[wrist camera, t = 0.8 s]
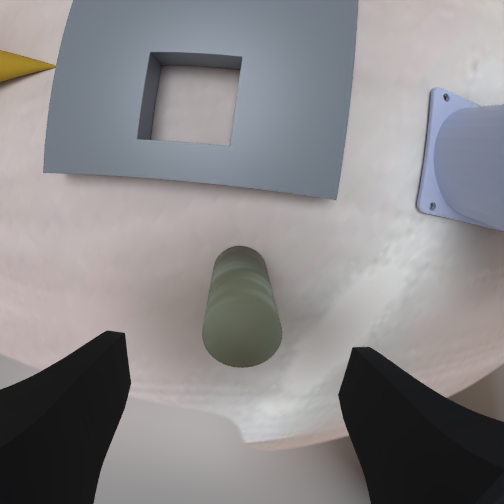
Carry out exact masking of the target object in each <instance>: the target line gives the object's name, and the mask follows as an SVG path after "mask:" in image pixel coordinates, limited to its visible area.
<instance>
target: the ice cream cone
mask: <svg viewBox="0 0 504 504" xmlns="http://www.w3.org/2000/svg"><path fill="white" fill-rule="evenodd" d="M51 68H56V66H55V65H52V64H49V63H45V62H42V61H38V60H35V59H31V58H28V57H24V56H20V55H17V54H13V53H9V52H5V51H1V50H0V82H2V81H5V80H9V79H12V78H15V77H19V76H23V75H27V74H30V73H34V72H38V71H43V70H47V69H51Z"/></svg>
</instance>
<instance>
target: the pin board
mask: <svg viewBox="0 0 504 504" xmlns="http://www.w3.org/2000/svg"><path fill="white" fill-rule="evenodd" d="M357 14H358V0H73V3H72V6H71V9H70V12H69V16H68V19H67V23H66V26H65V30H64V34H63V38H62V42H61V46H60V50H59V55H58V59H57V64H56V69H55V74H54V80H53V85H52V91H51V98H50V105H49V112H48V120H47V129H46V139H45V151H44V167H43V173H64V174H90V175H109V176H126V177H141V178H154V179H166V180H178V181H189V182H199V183H209V184H219V185H228V186H237V187H245V188H254V189H262V190H269V191H277V192H284V193H292V194H299V195H306V196H312V197H319V198H326V199H332V200H336V199H337V193H338V187H339V180H340V174H341V167H342V161H343V154H344V147H345V139H346V132H347V124H348V116H349V107H350V98H351V89H352V79H353V69H354V57H355V45H356V31H357ZM161 65H188V66H205V67H218V68H229V69H239V70H240V77H239V84H238V91H237V98H236V105H235V113H234V120H233V127H232V135H231V143H230V146H221V145H211V144H200V143H188V142H175V141H160V140H151V131H152V123H153V115H154V108H155V101H156V94H157V88H158V82H159V76H160V70H161Z"/></svg>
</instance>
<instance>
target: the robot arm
mask: <svg viewBox="0 0 504 504" xmlns="http://www.w3.org/2000/svg"><path fill="white" fill-rule="evenodd" d="M443 95H445V97H446V101H445V100H444V98H443ZM431 203H432V204H433V206H432V208H431V209H430V208H429V205H430V204H431ZM417 208H418V210H419V211H421V212H423V213H426V214H431V215H436V216H440V217H445V218H449V219H454V220H458V221H462V222H467V223H471V224H475V225H479V226H483V227H487V228H491V229H495V230H499V231H503V232H504V105H493V106H482V107H481V106H479V105H477V104H475V103H473V102H471V101H469V100H467V99H465V98H462V97H460V96H458V95H456V94H454V93H451V92H449V91H447V90H444V89H442V88H439V87H437V88H434V89H432V91H431V100H430V113H429V124H428V133H427V142H426V150H425V157H424V164H423V171H422V178H421V184H420V190H419V195H418V201H417ZM130 385H131V379H130V372H129V364H128V356H127V348H126V339H125V333H121V332H114V331H106V332H104V333H102V334H100V335H99V336H97V337H96V338H94V339H93V340H91V341H90V342H88V343H86V344H85V345H83V346H82V347H80V348H79V349H77V350H76V351H74V352H73V353H71V354H70V355H68V356H66V357H65V358H63V359H62V360H60V361H58V362H56V363H55V364H53V365H51V366H50V367H48V368H46V369H44V370H43V371H41V372H39V373H37V374H35V375H33V376H31V377H29V378H27V379H25V380H23V381H21V382H18V383H16V384H14V385H11V386H9V387H6V388H3V389H1V390H0V504H93V503H94V498H95V493H96V488H97V484H98V479H99V475H100V471H101V467H102V465H103V461H104V459H105V456H106V453H107V451H108V449H109V446H110V443H111V441H112V439H113V436H114V434H115V431H116V429H117V426H118V424H119V421H120V419H121V416H122V413H123V411H124V409H125V405H126V401H127V397H128V393H129V389H130ZM338 396H339V401H340V406H341V410H342V414H343V419H344V422H345V425H346V427H347V430H348V433H349V435H350V438H351V441H352V443H353V446H354V449H355V451H356V454H357V456H358V459H359V462H360V464H361V467H362V469H363V472H364V476H365V479H366V483H367V487H368V491H369V496H370V501H371V504H504V422H502V421H499V420H496V419H493V418H490V417H487V416H484V415H482V414H479V413H476V412H474V411H472V410H469V409H467V408H465V407H463V406H461V405H459V404H457V403H455V402H453V401H451V400H449V399H447V398H445V397H444V396H442V395H440V394H439V393H437V392H435V391H434V390H432V389H430V388H429V387H427V386H426V385H424V384H423V383H421V382H420V381H418V380H417V379H415V378H414V377H412V376H411V375H409V374H408V373H407V372H405V371H404V370H402V369H401V368H400V367H398V366H397V365H395V364H394V363H393V362H391V361H390V360H388V359H387V358H386V357H384V356H383V355H381V354H380V353H378V352H377V351H375V350H374V349H372V348H370V347H353V348H352V352H351V355H350V359H349V362H348V365H347V369H346V372H345V375H344V379H343V382H342V385H341V388H340V391H339V394H338Z"/></svg>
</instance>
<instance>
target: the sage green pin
mask: <svg viewBox="0 0 504 504" xmlns="http://www.w3.org/2000/svg"><path fill="white" fill-rule="evenodd" d="M202 337H203V342H204V345H205V347H206V349H207V351H208V352H209V353H210V354H211V356H212V357H214V358H215V359H216V360H218V361H219V362H221V363H223V364H225V365H228V366H232V367H241V368H244V367H252V366H255V365H258V364H261V363H263V362H265V361H266V360H268V359H269V358H270V357H271V356H273V355H274V353H275V352H276V351H277V349H278V348H279V345H280V343H281V339H282V328H281V324H280V320H279V316H278V312H277V308H276V304H275V300H274V296H273V292H272V288H271V285H270V281H269V277H268V273H267V269H266V265H265V262H264V260H263V258H262V257H261V255H260V254H259V253H258V252H256V251H255V250H253V249H251V248H249V247H245V246H235V247H231V248H229V249H227V250H225V251H223V252H222V253H221V254H220V255H219V256H218V258H217V260H216V262H215V265H214V269H213V275H212V280H211V286H210V291H209V297H208V302H207V308H206V313H205V319H204V325H203V331H202Z"/></svg>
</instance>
